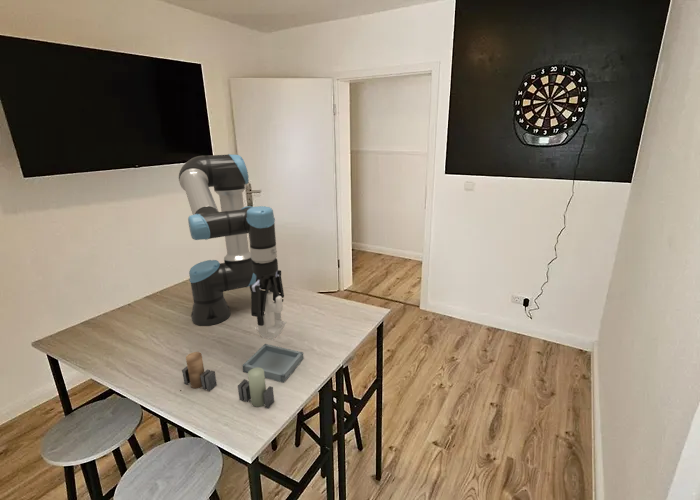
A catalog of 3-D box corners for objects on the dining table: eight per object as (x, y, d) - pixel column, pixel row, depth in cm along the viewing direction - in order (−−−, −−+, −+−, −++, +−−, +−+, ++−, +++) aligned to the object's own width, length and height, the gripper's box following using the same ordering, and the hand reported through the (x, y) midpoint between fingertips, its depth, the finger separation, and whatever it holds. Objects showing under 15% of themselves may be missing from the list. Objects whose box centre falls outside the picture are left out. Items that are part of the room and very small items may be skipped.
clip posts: (184, 383, 112) (181, 370, 111) (191, 377, 115) (189, 364, 113) (268, 408, 102) (267, 394, 101) (274, 401, 105) (272, 387, 103)
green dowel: (248, 404, 104) (244, 375, 100) (257, 394, 108) (253, 366, 104) (261, 408, 102) (258, 379, 99) (270, 398, 106) (267, 369, 103)
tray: (243, 371, 118) (242, 365, 117) (265, 349, 129) (265, 343, 128) (283, 382, 112) (283, 375, 112) (303, 358, 124) (303, 352, 123)
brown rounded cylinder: (187, 386, 111) (182, 358, 108) (198, 377, 115) (193, 350, 112) (199, 390, 110) (194, 362, 106) (209, 380, 114) (204, 353, 110)
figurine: (266, 326, 122) (262, 285, 117) (290, 332, 118) (287, 290, 113) (252, 337, 115) (247, 294, 111) (277, 344, 112) (273, 300, 107)
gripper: (255, 272, 98) (262, 346, 106) (292, 250, 116) (296, 313, 124) (232, 269, 101) (241, 341, 108) (272, 247, 119) (277, 310, 126)
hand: (270, 326), depth 116 cm, fingers closed on figurine, 7 cm apart
